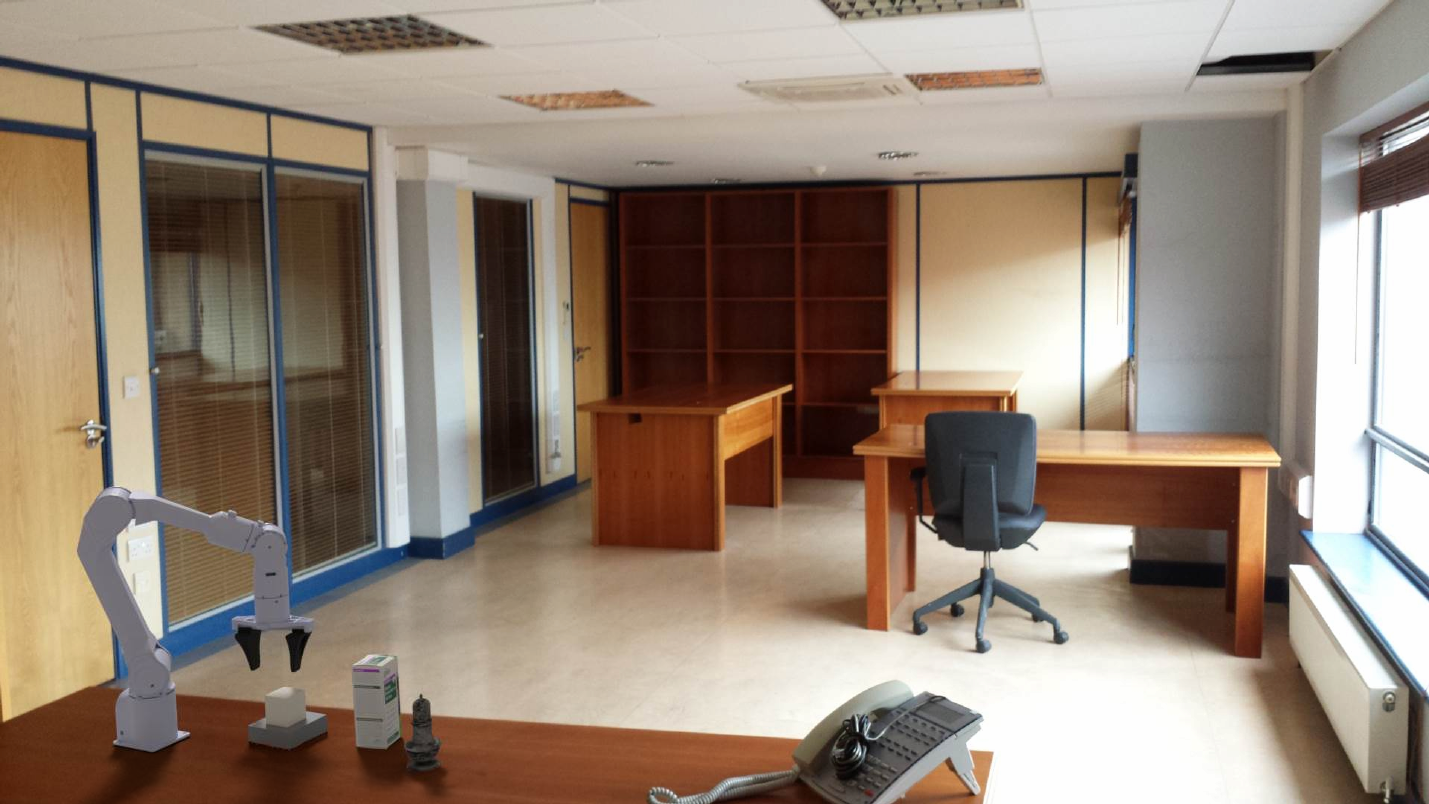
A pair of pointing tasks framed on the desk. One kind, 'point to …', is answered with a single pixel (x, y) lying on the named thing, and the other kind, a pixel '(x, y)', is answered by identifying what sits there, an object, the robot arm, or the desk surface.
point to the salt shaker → (422, 739)
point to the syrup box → (376, 701)
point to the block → (288, 731)
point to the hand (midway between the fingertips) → (275, 669)
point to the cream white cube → (285, 706)
